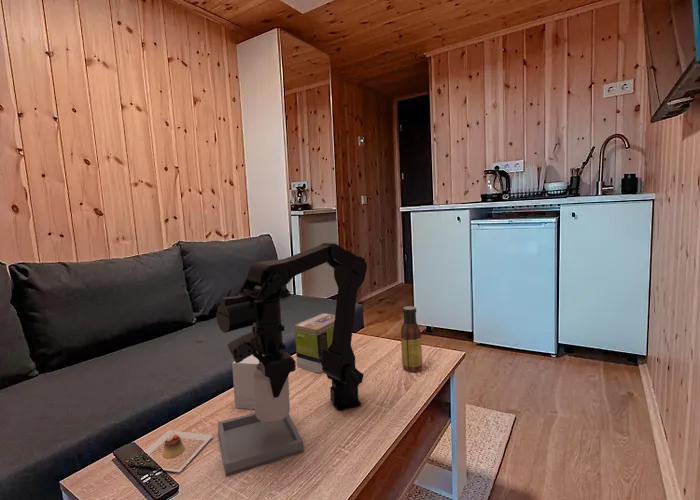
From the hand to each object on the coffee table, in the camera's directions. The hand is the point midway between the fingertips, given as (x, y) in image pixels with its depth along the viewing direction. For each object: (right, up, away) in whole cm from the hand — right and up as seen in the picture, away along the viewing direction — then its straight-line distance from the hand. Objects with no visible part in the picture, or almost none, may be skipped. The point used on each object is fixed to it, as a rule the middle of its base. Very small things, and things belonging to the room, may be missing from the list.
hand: (271, 389), depth 83 cm
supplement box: (-9, -11, +19) cm, 23 cm away
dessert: (-21, -14, -1) cm, 25 cm away
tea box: (+8, -7, +43) cm, 44 cm away
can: (0, -7, +1) cm, 6 cm away
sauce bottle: (+37, -7, +36) cm, 52 cm away
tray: (-3, -13, +2) cm, 13 cm away
